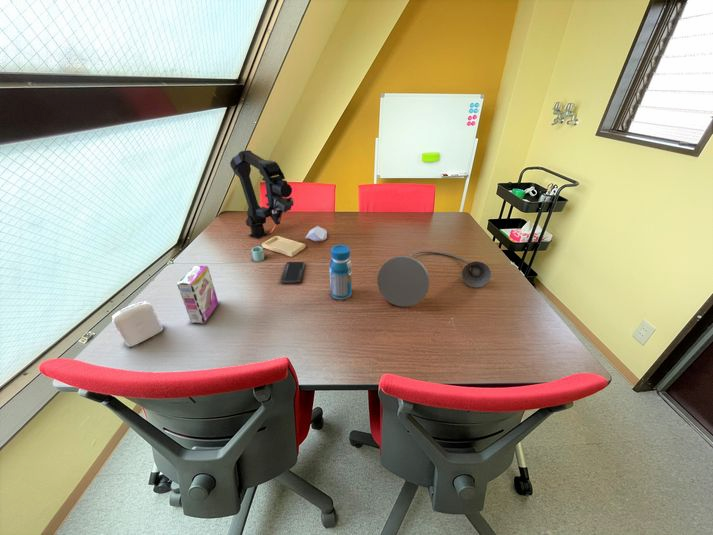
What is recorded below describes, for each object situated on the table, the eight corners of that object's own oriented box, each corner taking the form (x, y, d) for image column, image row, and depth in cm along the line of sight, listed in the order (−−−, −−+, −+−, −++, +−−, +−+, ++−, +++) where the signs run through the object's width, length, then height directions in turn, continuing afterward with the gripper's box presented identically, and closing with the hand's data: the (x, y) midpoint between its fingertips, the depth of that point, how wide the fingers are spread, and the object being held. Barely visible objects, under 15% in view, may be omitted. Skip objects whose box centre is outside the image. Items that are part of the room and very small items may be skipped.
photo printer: (129, 349, 88) (111, 319, 81) (124, 342, 90) (106, 312, 83) (165, 330, 94) (151, 301, 88) (160, 324, 97) (146, 295, 90)
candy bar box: (205, 324, 97) (191, 284, 88) (191, 323, 97) (175, 284, 88) (219, 302, 107) (208, 265, 98) (206, 302, 107) (193, 264, 98)
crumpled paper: (322, 245, 146) (328, 234, 156) (322, 233, 142) (328, 222, 153) (305, 244, 146) (312, 232, 157) (304, 232, 143) (311, 221, 154)
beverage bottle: (335, 302, 108) (334, 256, 97) (327, 290, 114) (324, 246, 103) (355, 296, 111) (356, 251, 100) (346, 285, 117) (346, 241, 106)
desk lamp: (489, 327, 97) (374, 300, 108) (480, 287, 138) (397, 270, 149) (503, 275, 91) (380, 252, 103) (489, 249, 133) (403, 235, 144)
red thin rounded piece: (270, 233, 141) (267, 214, 136) (271, 232, 142) (268, 213, 136) (281, 236, 138) (279, 217, 133) (282, 236, 139) (280, 217, 134)
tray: (262, 247, 143) (261, 243, 142) (276, 239, 151) (276, 235, 150) (291, 256, 135) (291, 253, 134) (305, 247, 143) (305, 243, 142)
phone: (280, 281, 117) (287, 261, 129) (281, 283, 117) (287, 264, 130) (300, 281, 117) (304, 261, 129) (300, 283, 117) (305, 264, 130)
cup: (251, 259, 133) (249, 250, 130) (258, 254, 137) (257, 245, 134) (259, 262, 131) (257, 252, 128) (266, 257, 135) (265, 248, 132)
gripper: (272, 201, 118) (277, 235, 126) (300, 189, 131) (303, 221, 140) (252, 196, 122) (258, 230, 130) (282, 185, 136) (285, 216, 144)
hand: (277, 224), depth 136 cm, fingers closed on red thin rounded piece, 1 cm apart
